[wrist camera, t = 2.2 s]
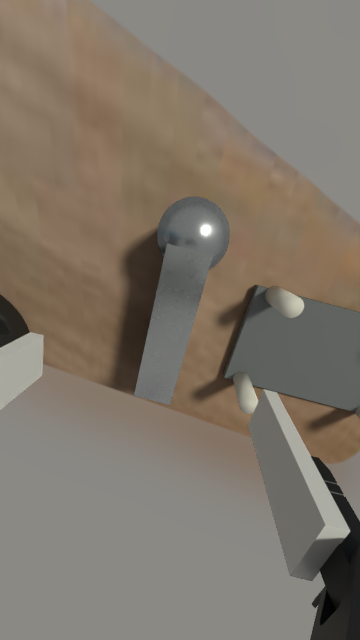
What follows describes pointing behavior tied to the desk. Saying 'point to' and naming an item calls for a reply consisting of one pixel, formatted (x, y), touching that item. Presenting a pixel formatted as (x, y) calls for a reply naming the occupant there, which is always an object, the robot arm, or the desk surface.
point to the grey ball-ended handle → (179, 289)
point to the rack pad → (296, 350)
